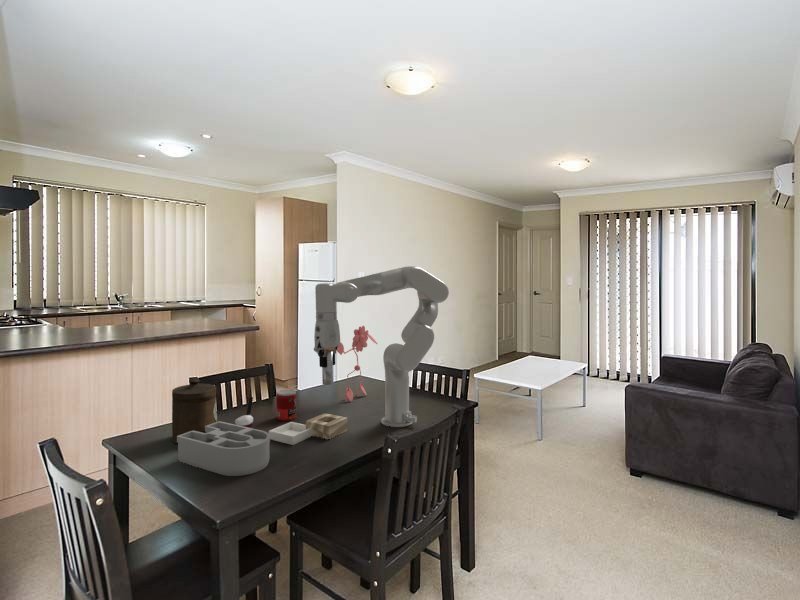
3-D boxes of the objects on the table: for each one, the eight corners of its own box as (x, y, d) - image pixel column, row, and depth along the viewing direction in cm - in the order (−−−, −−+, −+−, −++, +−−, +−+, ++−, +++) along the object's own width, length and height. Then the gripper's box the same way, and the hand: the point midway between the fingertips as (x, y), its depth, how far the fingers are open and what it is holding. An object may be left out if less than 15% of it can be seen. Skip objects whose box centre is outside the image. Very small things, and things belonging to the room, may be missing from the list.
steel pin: (337, 382, 172) (337, 345, 171) (329, 385, 167) (328, 347, 166) (326, 381, 174) (325, 344, 173) (317, 384, 170) (317, 346, 169)
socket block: (347, 430, 174) (347, 417, 174) (329, 439, 164) (329, 426, 164) (324, 425, 179) (324, 413, 179) (305, 434, 170) (305, 421, 169)
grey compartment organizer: (219, 445, 159) (219, 421, 159) (281, 461, 146) (281, 434, 146) (177, 463, 145) (176, 436, 144) (241, 482, 132) (240, 452, 131)
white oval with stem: (238, 438, 167) (237, 406, 165) (229, 433, 171) (227, 402, 169) (261, 430, 174) (260, 399, 173) (251, 426, 178) (250, 396, 177)
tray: (315, 434, 169) (314, 426, 169) (293, 445, 159) (293, 436, 159) (291, 429, 175) (291, 421, 175) (268, 439, 165) (268, 430, 165)
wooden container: (226, 435, 169) (224, 376, 168) (189, 448, 156) (188, 384, 155) (200, 428, 176) (198, 371, 175) (163, 440, 164) (161, 379, 162)
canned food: (291, 421, 184) (291, 394, 183) (273, 420, 186) (272, 393, 185) (299, 416, 191) (299, 390, 191) (281, 414, 193) (281, 389, 192)
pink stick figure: (330, 403, 209) (331, 327, 207) (365, 391, 231) (366, 322, 228) (356, 409, 201) (357, 330, 198) (390, 396, 222) (391, 325, 220)
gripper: (319, 319, 160) (320, 371, 161) (348, 315, 175) (349, 362, 176) (303, 318, 164) (304, 369, 165) (332, 314, 178) (333, 360, 180)
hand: (327, 365), depth 170 cm, fingers closed on steel pin, 4 cm apart
